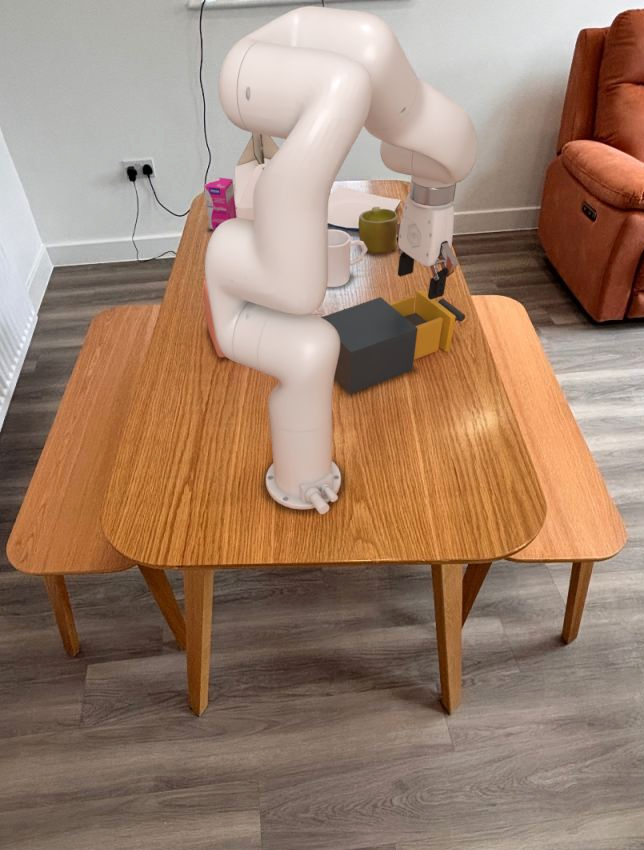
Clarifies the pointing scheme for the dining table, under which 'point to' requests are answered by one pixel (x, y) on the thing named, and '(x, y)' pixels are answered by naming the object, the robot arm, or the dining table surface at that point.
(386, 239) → the mug
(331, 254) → the mug
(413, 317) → the block
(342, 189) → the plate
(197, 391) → the dining table surface
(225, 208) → the supplement box
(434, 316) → the yellow drawer
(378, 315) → the cabinet
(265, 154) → the paper bag
